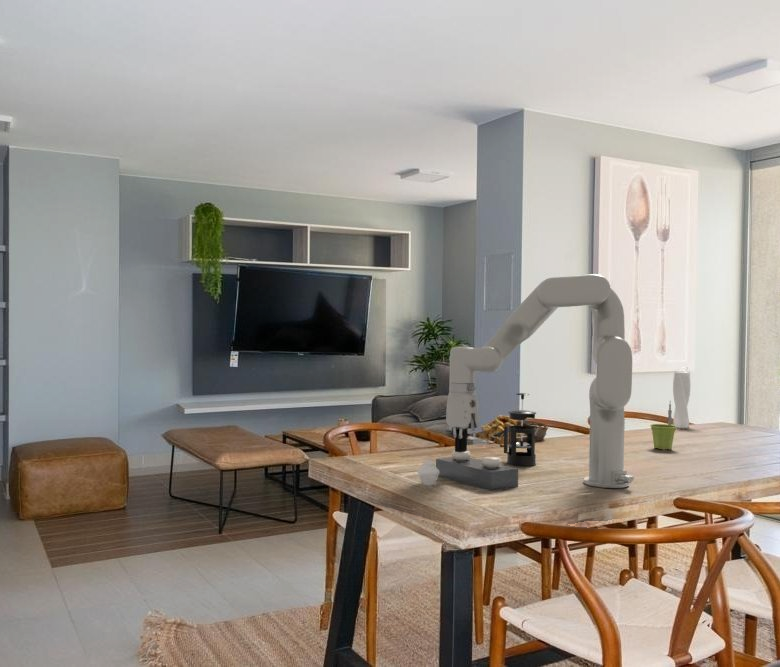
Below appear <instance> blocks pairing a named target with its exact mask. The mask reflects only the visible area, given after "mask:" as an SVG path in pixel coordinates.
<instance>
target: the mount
mask: <svg viewBox="0 0 780 667" xmlns="http://www.w3.org/2000/svg"><path fill="white" fill-rule="evenodd" d="M435 466H436V467H437V468H438V470H439V471H440V473H439V475H438V477H440V478H444V479H448V480H450V481H454V482H458V483H462V484H466V485H468V486H472V487H476V488H480V489H484V490H488V491H491V492H492V491H498V490H505V489H513V488H518V487H519V468H517V467H514V466H510V465H508V466H507V465H504V464H503V465H502V464H501V466H500V467H496V468H495V469H489V468H487V467H486V466H482V459H481V460H480V459H476V458H474V457H470V459H469V460H466V461H463V462H459V461H457V460H456V459H452V456H450V457H440V458H435Z"/></svg>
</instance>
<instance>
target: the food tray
mask: <svg viewBox="0 0 780 667" xmlns="http://www.w3.org/2000/svg"><path fill="white" fill-rule="evenodd" d="M521 423H522V420H513V419H510V415H502V414H498V416H496V418H494V419H493V420H492V421H491V422H490V424H486V425H481V426H480V427H481V428H480V429H481V431H475V433H474V435H475V436H474V437H473V436H469V437H468V438H467V440H471V441H473V440H474V441H479V442H482V443H483V444H485V443H486V444H489V445H493V444H498V445H499V446H500V447H502V448H504V427H505V426H521ZM531 424H532V425H531ZM535 424H536V425H535ZM523 426H532V427H536V432H535V442H536V441H544V439H545V437H546V435H547V433H548V432H547V431H548V428H549V426H548V424H545V423H542V422H539V421H534V420H531V419H530V420H529V419H525V420H523ZM520 441H521V433H516V443H520ZM522 441H523V443H527V433H522ZM508 445H509V431H508Z"/></svg>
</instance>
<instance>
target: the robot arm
mask: <svg viewBox="0 0 780 667" xmlns="http://www.w3.org/2000/svg"><path fill="white" fill-rule="evenodd" d="M581 306H587V307H588V308H589V309H590V311H591V313H592V318H593V338H592V340H593V341H592V343H593V344H592V359H593V360H594V362H595V364H596V377H595V378H594V379H593V380H592V381H591V383H590V387H589V394H588V396H589V397H588V398H589V399H588V400H589V417H590V418H589V454H588V455H589V456H588V457H589V458H588V459H589V460H588V476H585V477H584V478H582V480H583V483H584V485H587V486H590V487H594V488H605V489H623V488H626V487H629V485H630V484H632V482H633V481H634V480H635V478H634V476H633V475H628V471H627V469H624V463H625V461H624V460H625V458H624V457H625V424H626V423H625V407H626V406H627V405H628V404H629V402H630V399H631V396H632V389H633V387H632V386H633V385H632V384H633V383H632V382H633V353H632V352H633V351H632V349H631V348H632V347H631V346H630V344H629V343H628V342H627V341H626V339H625V310H624V307H623V303H622V302H621V299H620V298H619V296H618V294H617V292H615V291H614V289H612V288H611V284H610V282H609V280H608V279H607V278H606V277H605V276H602V275H601V274H597V273H592V274H583V275H581V274H580V275H570V276H569V275H568V276H556V277H555V276H553V277H549V278H548V277H547V278H546V279H544V280H542V281H541V282H540V283H539V284H538V285H537V286H536V287H535V288H534V289H533V290H532V291H531V292H530V293H529V295H528V296H527V297H526V298H525V299H524V300H523V301H522V302H521V303H520V305H518V307H517V308H515V310H514V311H513V312H512V313H511V314H510V315H509V316H508V317H507V318H506V320H505V322H504V323H503V324H502V326H501V327H499V329H498V330H497V331H496V332H495V333H494V334H493V335H492V336H491V337H490V338H489V340H488V341H486V343H484V345H482V347H476V348H475V347H471V346H453V347H452V348H451V349H450V350H449V351H450V352H449V387H448V394H447V401H446V410H445V423H446V425H448V426H447V428H448V430H450V431H451V432H452V433H453V437H454V450H455V452H466V451H468V449H467V448H468V437H470V434H475V432H476V429H477V428H479V425H480V424H479V423H480V422H479V421H480V417H479V416H480V415H479V414H480V413H479V402H478V400H479V399H478V394H476V372H480V373H487V374H492V373H495V372H497V371H498V370H499V369H500V368H501V367H502V364H503V362H504V361H505V360H506V359H507V358H508V357H509V355H510V354H511V353H512V352H514V350H515V349H517V347H519V345H521V344H522V343H523V342H525V341H526V340H528V339H530V338H531V337H532V336H533V335H534V334H535V333H536V331H538V329H539V328H540V327H541V326H542V325H543V324H544V323H545V322H546V321H547V320H548V319H549V318H550V317H551V316H552V314H554V313H555V311H556V310H557V309H558V308H567V307H569V308H571V307H581Z"/></svg>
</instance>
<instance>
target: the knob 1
mask: <svg viewBox="0 0 780 667" xmlns="http://www.w3.org/2000/svg"><path fill="white" fill-rule="evenodd" d="M451 455H452V456H451V457H452V459H456V460H457V461H459V462H463V461H466V460H469V459H470V458H471V451H470V450H467V451H466V452H455V449H453V450H452V452H451Z"/></svg>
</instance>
